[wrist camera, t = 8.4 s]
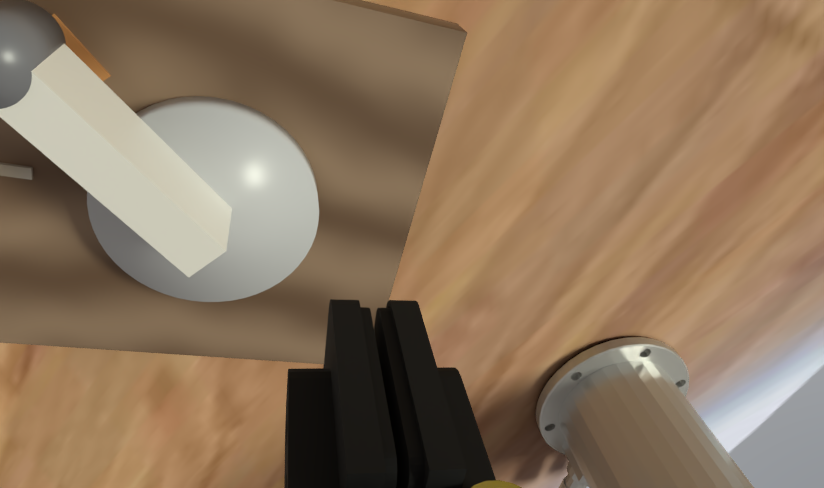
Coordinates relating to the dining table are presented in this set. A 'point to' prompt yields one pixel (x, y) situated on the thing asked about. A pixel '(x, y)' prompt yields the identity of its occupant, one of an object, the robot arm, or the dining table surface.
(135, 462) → the dining table surface
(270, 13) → the dial plate
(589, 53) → the dining table surface
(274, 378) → the dining table surface
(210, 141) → the dial
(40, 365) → the dining table surface
